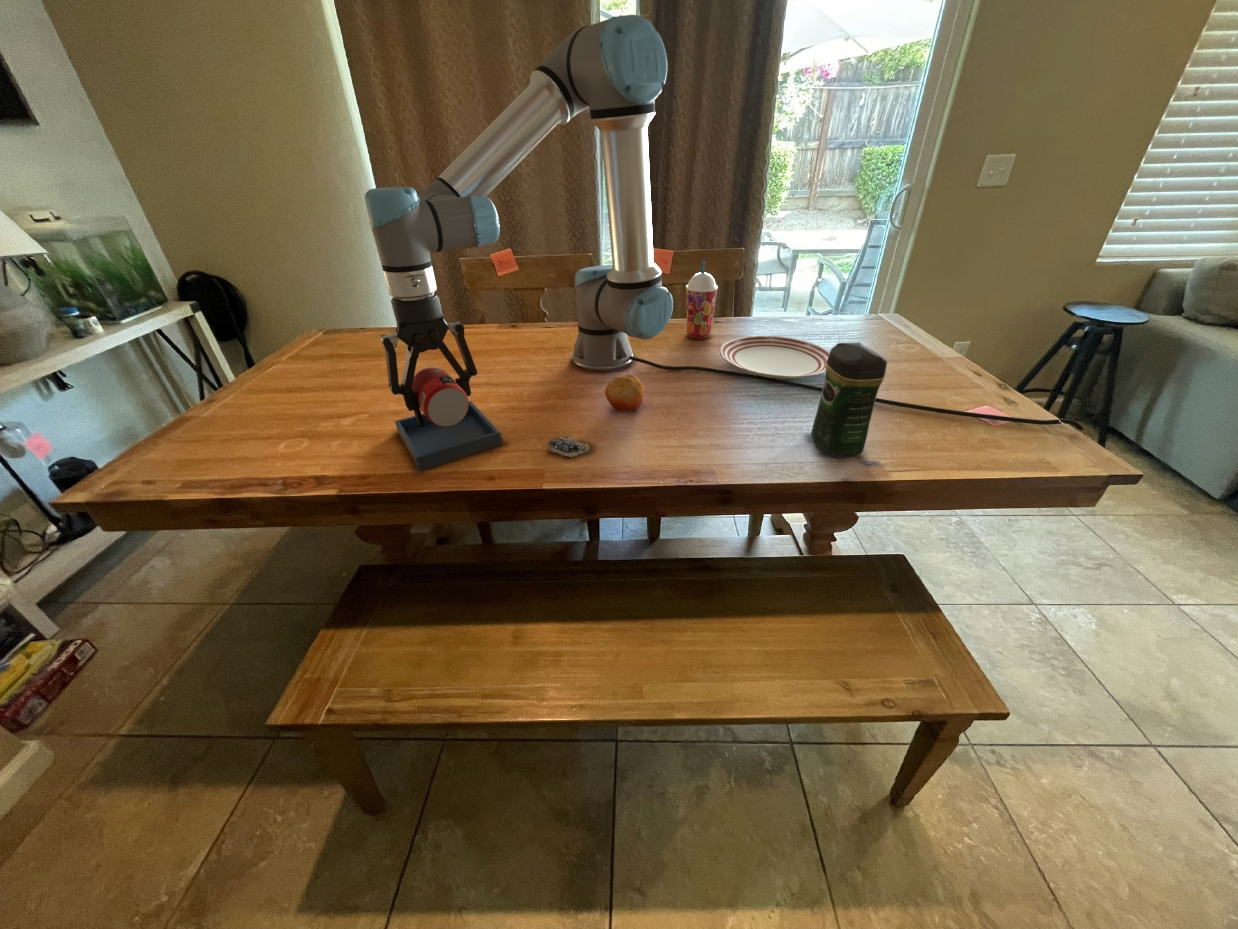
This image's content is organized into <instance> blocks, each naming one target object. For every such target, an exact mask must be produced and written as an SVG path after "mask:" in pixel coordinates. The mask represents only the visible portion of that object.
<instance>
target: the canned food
mask: <svg viewBox="0 0 1238 929" xmlns="http://www.w3.org/2000/svg"><path fill="white" fill-rule="evenodd" d="M412 389H413V391H414V392H415V393H416V396H417V399H418V403H419V407H420V411H421V412H422V414H425V416H426V417H427V418H428V419H429V421H430V422H432V423H433V424H435V425H438V426H442V427H449V426H453V425H455V424H457V423H459V422H460V421H461V420H462V419H463V418H464V417H465V415H466V414H467V411H468V407H469V396H467V395H466V393H465V392H464V390H463V389H462V388H461V387H460V386H459V385H458V384H457V383H456V381H455V378H453V377H452V376H451V375H450V374H449V373H448V372H447V371H446V370H444V369H443V368H440V367H437V366H428V367H424V368H422V369H420V370H419V371H417V372H416V373H415V374H414V379H413V385H412Z"/></svg>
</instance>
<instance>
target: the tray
mask: <svg viewBox="0 0 1238 929" xmlns="http://www.w3.org/2000/svg"><path fill="white" fill-rule="evenodd" d="M468 402H469V412H470V414H469V415H465V417H464V418H463V419H462V420H461V421H460V422H459V423H457V424H455V425H453V426H449V427H442V426H438V425H435V424H433V423H432V422H430V421H429V419H428V418H427V417H426V416H425V414H424V413H421V414H422V418H423V422H424V426H425V427H421V428H420V426H419V425H418V423H417V421H416V417H415V415H413V416H409V417H404V418H401V419H397V420H394V424H395V427H396V431H397V433H398V435H399V438H400V439H401V440H402V443H403V444H404V446H405V448H406V449H407V451H408V453H409V455H410V456H411V458H412V460H413V462H414V464H415V465H416V467H417V468H418V471H419V472H420V471H423V470H427V469H430V468H434V467H436V466H439V465H440V466H441V465H443V464H446V463H449V462H452V461H456V460H458V459H462V458H465V457H468V456H472V455H475V454H477V453H481V452H484V451H488V450H491V449H493V448H497V447H500V446H502V445H503V442H502V435H501V432H500V431H499V430H498V429H497V428H496V426H494V424H493V423H492V422H491V421H490V420H489V419H488V418H487V416H485V415H484V414H483V412H482V411H481V410H480V409H479V408H478V407H477V406H476V405H475V403H474V402H473V401H471V400H468Z"/></svg>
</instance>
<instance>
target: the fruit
mask: <svg viewBox="0 0 1238 929" xmlns="http://www.w3.org/2000/svg"><path fill="white" fill-rule="evenodd" d="M644 392H645V390H644V386H643V384H642V382H641V381H640V379H639V378H638V377H637V376H636V375H633V374H630V373H628V374H620V375H617V376H615V377H614V378H612V379H610V380H609V381H608V383H607V384H606V387H605V389H604V395H605V397H606V400H607V401H608V403H609V404H610V405H611V407H612V409H614V410H615V411H618V412H635V411H637V410H638V409H640V407H641V405H642V403H643V399H644Z"/></svg>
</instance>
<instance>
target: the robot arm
mask: <svg viewBox="0 0 1238 929" xmlns="http://www.w3.org/2000/svg"><path fill="white" fill-rule="evenodd" d="M667 56H668V55H667V51H666V47H665V44H664V41H663V38H662V37H661V34H660V33H659V31H657V30H656V28H655V26H654V25H653V23H651V21H650V20H648V19H647V18H645V17H643V16H641V15H638V14H637V15H636V14H625V15H622V14H619V15H618V16H612V17H610V18H608V19H605V20H602V21H599V22H596V23H593V24H590V25H584V26H582V27H578V28H577V29H575V30H574V31H572V32H571V33H570V34H568V35H567V36H566V37H564V39H563V40H562V41H561V42H560V43H559V44H558V45H557V46H556V47H555V48H554V49H553V50H552V51H551V52H550V53H549V54H548V56H547V57H546V58H545V59H544V60H542V62H541V63H540V64H539V65H538V66H537V67H536V68H535V69H534V70H533V71H531V72H532V73H531V74H530V76H529V85H528V86H527V87H526V88H525V89H524V90H523V91H522V92H521V93H519V95H518V96H517V97H516V98H514V99H513V101H511V103H510V104H509V105H508V106H507V107H506V108H505V109H504V110H503V111H502V112H501V113H500V114H499V115H498V116H497V117H496V118H495V119H494V120H493V121H492V122H491V123H490V124H489V125H488V126H487V127H486V128H485V129H484V130H483V131H482V132H481V133H480V134H479V135H477V137H476V138H475V139H474V140H473V141H472V142H471V143H470V144H469V145H468V146H467V147H466V148H465V149H464V150H463V151H462V152H461V153H460V154H459V155H458V156H457V158H455V159H454V160H453V161H452V162H451V163H450V164H449V165H448V166H447V167H446V168H445V169H444V170H443V171H442V172H441V173H440V174H439V175H438V176H437V178H435V180H433V181H432V182H431V183H430V184H429V185H428V186H427V187H426V188H425V189H423V190H418V191H416V189H415V188H414V187H412V186H384V187H383V186H382V187H375V188H370V189H368V190H367V191H366V192H365V195H364V202H365V207H366V211H367V216H368V222H369V223H368V225H369V227H370V229H371V232H372V236H373V239H374V243H375V247H376V250H377V254H378V257H379V260H380V264H381V269H382V273H383V276H384V281H385V284H386V288H387V293H388V295H389V296H390V297H392V298H391V300H390V303H391V308H392V311H393V315H394V319H395V322H396V329H395V332H391V334H388V335H386V334H381V335H380V336H379V339H380V341H381V344H382V345H383V347H384V351H385V360H386V371H387V380H388V389H389V390H390V391H391V393H392V394H393V395H394V396H395V395H396V396H397V395H402V397H403V401H404V405H405V407H406V409H407V410H408V411H409V412H413V414H414V416H415V417H416V421H417V423H418V425H419V426H420V428H421V427H425V426H424V422H423V418H422V414H423V413H422V410H421V409H420V407H419V403H418V399H417V396H416V393H415V392H414V391H413V389H412V385H413V379H414V376H415V374H416V373H415V372H416V369H417V364H418V363H417V362H418V360H419V358H420V354H421V353H425V352H427V351H435V350H439V352H440V353H441V355H442V356H444V358H445V359H446V361H447V362H448V364H449V365H450V366H451V368H452V369H453V371H454V372H455V373H456V375H457V376H458V377H457V378H454V381H455V382H456V383H457V384H458V385H459V386H460V387H461V388H462V389H463V390H464V392H465V393H466V395H467V397H470V396H471V394H472V391H471V385H470V381H471V378H472V377H475V376H477V375H478V370H477V367H476V364H475V362H474V359H473V356H472V354H471V351H470V348H469V345H468V343H467V341H466V338H465V326H464V324H462V323H461V322H460V321H459V320H455V321H453V322H447V321H446V320H445V318H444V315H443V310H442V305H441V300H440V296H439V294H438V293H437V292H436V291H437V290H438V287H437V282H436V278H435V272H434V268H433V262H432V259H431V253H432V254H433V253H440V252H447V251H455V250H464V249H472V248H477V249H478V248H479V249H480V248H482V247H484V246H490V245H493V244H495V243H497V241H498V239H499V236H500V220H499V215H498V211H497V208H496V206H495V204H494V203H493V201H492V200H491V198H489V197H488V195H490V193H491V192H493V190H494V189H495V188H496V187H497V186H498V185H499V184H500V183H501V182H502V181H503V180H504V179H505V178H506V177H507V176H508V175H509V174H510V173H511V172H512V171H513V170H514V169H515V168H516V167H517V166H518V165H519V164H520V163H521V162H522V161H523V160H524V159H525V158H526V157H527V156H528V155H529V154H530V153H531V152H532V151H533V149H535V147H537V145H539V144H540V142H542V141H543V140H544V139H545V137H546V136H547V135H549V133H550V132H551V131H552V130H553V129H554V128H556V126H557V125H562V126H564V125H566V124H568V123H569V122H570V121H571V120H572V119H573V118H574V117H575V116H576V115H578V114H580V113H582V112H584V111H586V110H589V115H590V122H591V123H592V124H593V125H594V126H595V127H596V128H597V129H598V130H599V133H600V143H601V151H602V164H603V174H604V184H605V186H604V187H605V196H606V206H607V208H606V209H607V217H608V228H609V239H610V240H609V241H610V249H611V250H610V251H611V262H612V264H602V265H601V264H600V265H595V266H594V265H593V266H587V267H584V268H581V269H578V270H577V271H576V273H575V274H574V275H575V276H574V289H575V303H576V319H577V330H578V331H577V332H578V333H577V336H576V341H575V343H574V346H573V352H572V362H573V365H574V366H575V367H576V368H578V369H580V370H583V371H586V372H593V373H608V372H609V373H610V372H615V371H619V370H620V371H621V370H623V369H625V368H627V367H629V366H630V365H631V364H632V363H633V362H638V363H640V364H644V365H649V366H651V367H654V368H657V369H661V370H667V371H701V372H702V371H703V372H709V373H716V374H720V375H721V374H723V375H729V376H735V377H742V378H747V379H753V380H759V381H764V382H770V383H776V384H781V385H786V386H791V387H795V388H802V389H806V390H812V391H816V392H821V393H822V390H823V387H821V386H817V385H811V384H805V383H800V382H795V381H789V380H786V379H774V378H769V377H763V376H757V375H754V374H751V373H746V372H738V371H732V370H726V369H718V368H713V367H707V366H696V365H695V366H694V365H693V366H692V365H685V366H684V365H681V366H680V365H679V366H678V365H676V366H675V365H674V366H673V365H662V364H660V363H659V364H658V363H656V362H653V361H650V360H646V359H644V358H640V357H636V356H634V354H633V350H632V346H631V343H630V341H629V338H628V337H630V338H635V339H638V340H650V339H653V338H655V337H657V336H658V335H659V334H661V333H662V332H663V331H664V330H665V328H666V326H667V325H668V324H669V322H670V320H671V318H672V316H673V310H674V299H673V296H672V293H671V292H669V290H668V289H667V287H664V286H663V284H662V283H663V282H662V270H661V268H660V267H659V266H658V265H657V264H656V263H655V262H654V245H653V224H652V223H653V222H652V201H651V200H652V199H651V180H650V157H649V136H648V134H649V132H648V127H649V124H650V122H651V121H652V120H653V118H654V116H655V115H656V99H657V98H658V97H659V96H660V94H661V93H662V91H663V87H664V85H665V84H666V81H667V75H668V57H667ZM448 331H449V333H450V334H451V335H452V336H453V337H454V340H455V343H456V346H457V348H458V350H459V353H460V355H461V359H462V361H463V364H464V366H465V369H464V368H463V367H462V366H461V364H460V363H459V362H458V360H457V359H456V358H455V356H454V355H453V353H452V352H451V351H450V349H449V347H448V346H447V345H446V343H445V342H444V340H445V337H446V335H447V333H448ZM399 340H401V342H403V343H404V344H405V345H406V350H405V352H406V355H405V359H404V360H405V361H404V366H403V372H402V376H401V383H400V382H399V381H400V380H399V372H398V371H399V370H398V361H397V360H398V358H397V352H396V348H397V347H398V341H399ZM875 403H879V404H885V405H890V406H896V407H900V408H907V409H912V410H920V411H927V412H932V413H933V412H934V413H938V414H947V415H952V416H953V415H954V416H959V417H969V418H976V419H984V420H992V421H993V420H994V421H1001V422H1008V423H1009V422H1011V423H1019V424H1020V423H1021V424H1029V425H1039V426H1040V425H1041V426H1050V425H1051V426H1052V425H1064V424H1065V425H1072V426H1073V427H1074V428H1075V429H1077V430H1078V431H1085V428H1084V426H1083V425H1082V424H1081V423H1080V422H1078V421H1076V420H1073V419H1069V418H1057V419H1058V420H1057V419H1034V418H1033V419H1032V418H1024V417H1014V416H1013V417H1012V416H1005V415H995V414H988V413H987V414H986V413H978V412H970V411H962V410H957V409H956V410H955V409H948V408H941V407H934V406H926V405H922V404H921V405H920V404H913V403H908V402H902V401H895V400H890V399H885V398H879V397H876V400H875ZM469 414H470V412H469V407H468V411H467V414H466V415H469ZM1059 420H1060V421H1061V422H1063V423H1064V424H1062V423H1061V422H1059Z"/></svg>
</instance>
